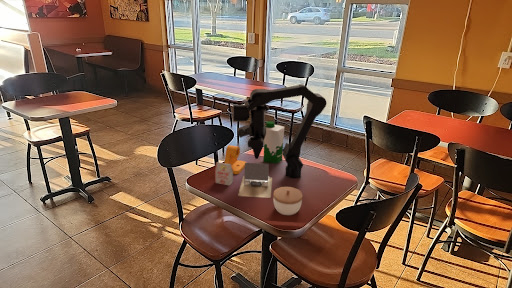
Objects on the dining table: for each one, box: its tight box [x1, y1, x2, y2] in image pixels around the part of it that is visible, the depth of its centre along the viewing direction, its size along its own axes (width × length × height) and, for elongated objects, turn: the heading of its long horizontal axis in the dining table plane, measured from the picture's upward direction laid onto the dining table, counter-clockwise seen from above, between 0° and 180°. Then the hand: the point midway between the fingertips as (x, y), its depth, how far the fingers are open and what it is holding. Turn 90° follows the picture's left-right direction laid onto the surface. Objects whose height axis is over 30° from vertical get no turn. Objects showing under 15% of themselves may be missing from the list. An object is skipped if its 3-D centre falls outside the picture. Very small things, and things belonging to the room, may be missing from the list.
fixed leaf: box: [244, 175, 270, 187], centre depth 140 cm, size 10×10×2 cm
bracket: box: [224, 144, 248, 175], centre depth 151 cm, size 11×7×12 cm, turn 160°
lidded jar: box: [272, 186, 303, 216], centre depth 120 cm, size 11×11×9 cm
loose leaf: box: [243, 162, 270, 186], centre depth 137 cm, size 10×10×2 cm
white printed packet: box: [214, 161, 234, 186], centre depth 139 cm, size 4×7×10 cm, turn 70°
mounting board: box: [237, 175, 273, 199], centre depth 138 cm, size 13×17×1 cm
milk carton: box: [262, 120, 285, 164], centre depth 159 cm, size 9×9×20 cm
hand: (257, 154), depth 141 cm, fingers open, 8 cm apart
